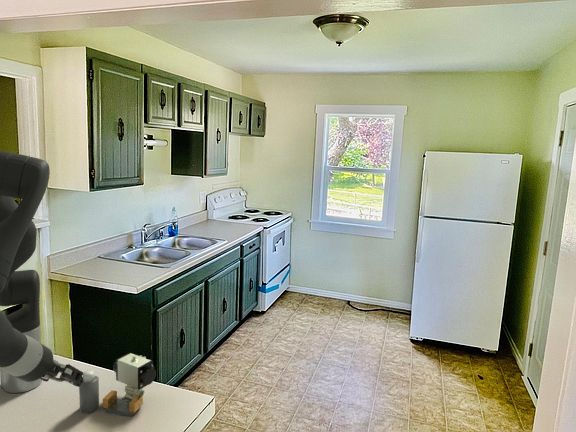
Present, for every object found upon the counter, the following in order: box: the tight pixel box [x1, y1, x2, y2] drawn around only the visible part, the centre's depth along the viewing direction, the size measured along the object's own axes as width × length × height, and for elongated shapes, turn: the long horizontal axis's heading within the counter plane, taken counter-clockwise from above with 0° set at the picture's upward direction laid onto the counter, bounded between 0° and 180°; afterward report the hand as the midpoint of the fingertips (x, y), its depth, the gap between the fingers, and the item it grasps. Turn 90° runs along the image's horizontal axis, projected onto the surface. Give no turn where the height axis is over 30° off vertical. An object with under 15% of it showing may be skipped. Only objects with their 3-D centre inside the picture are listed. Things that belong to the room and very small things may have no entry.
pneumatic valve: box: [112, 352, 157, 401], centre depth 114 cm, size 6×12×12 cm, turn 63°
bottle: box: [78, 369, 100, 415], centre depth 108 cm, size 5×5×10 cm
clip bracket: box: [102, 390, 144, 418], centre depth 109 cm, size 9×5×4 cm, turn 80°
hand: (64, 379), depth 98 cm, fingers open, 8 cm apart
